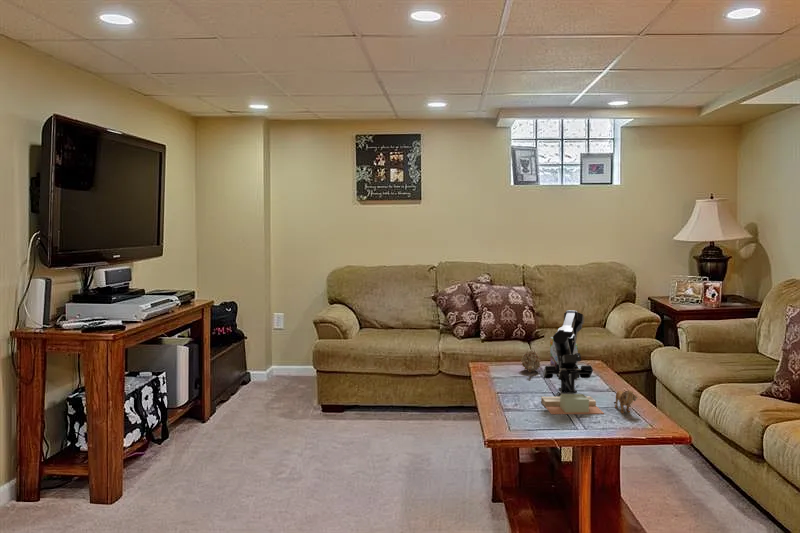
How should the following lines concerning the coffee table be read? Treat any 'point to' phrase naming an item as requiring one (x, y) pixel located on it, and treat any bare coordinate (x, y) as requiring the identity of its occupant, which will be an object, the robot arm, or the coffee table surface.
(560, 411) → the rubber mat
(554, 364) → the snack box
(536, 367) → the pine cone
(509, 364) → the coffee table surface
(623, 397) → the lion figurine
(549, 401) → the birch board
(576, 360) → the robot arm
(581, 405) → the green block
